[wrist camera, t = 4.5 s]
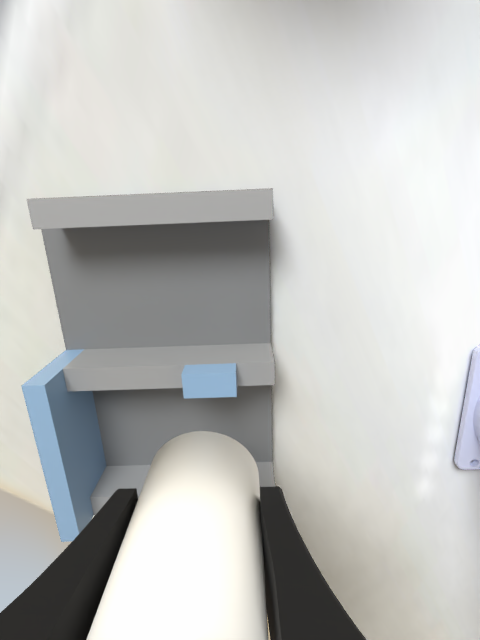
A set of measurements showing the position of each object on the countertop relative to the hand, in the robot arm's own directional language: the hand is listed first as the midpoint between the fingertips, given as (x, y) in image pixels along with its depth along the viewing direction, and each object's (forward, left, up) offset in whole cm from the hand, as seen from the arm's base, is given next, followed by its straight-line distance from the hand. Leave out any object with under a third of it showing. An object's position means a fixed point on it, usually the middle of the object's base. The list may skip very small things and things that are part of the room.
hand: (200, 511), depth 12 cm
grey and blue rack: (+2, -2, -9) cm, 9 cm away
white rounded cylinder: (0, 0, -1) cm, 1 cm away
